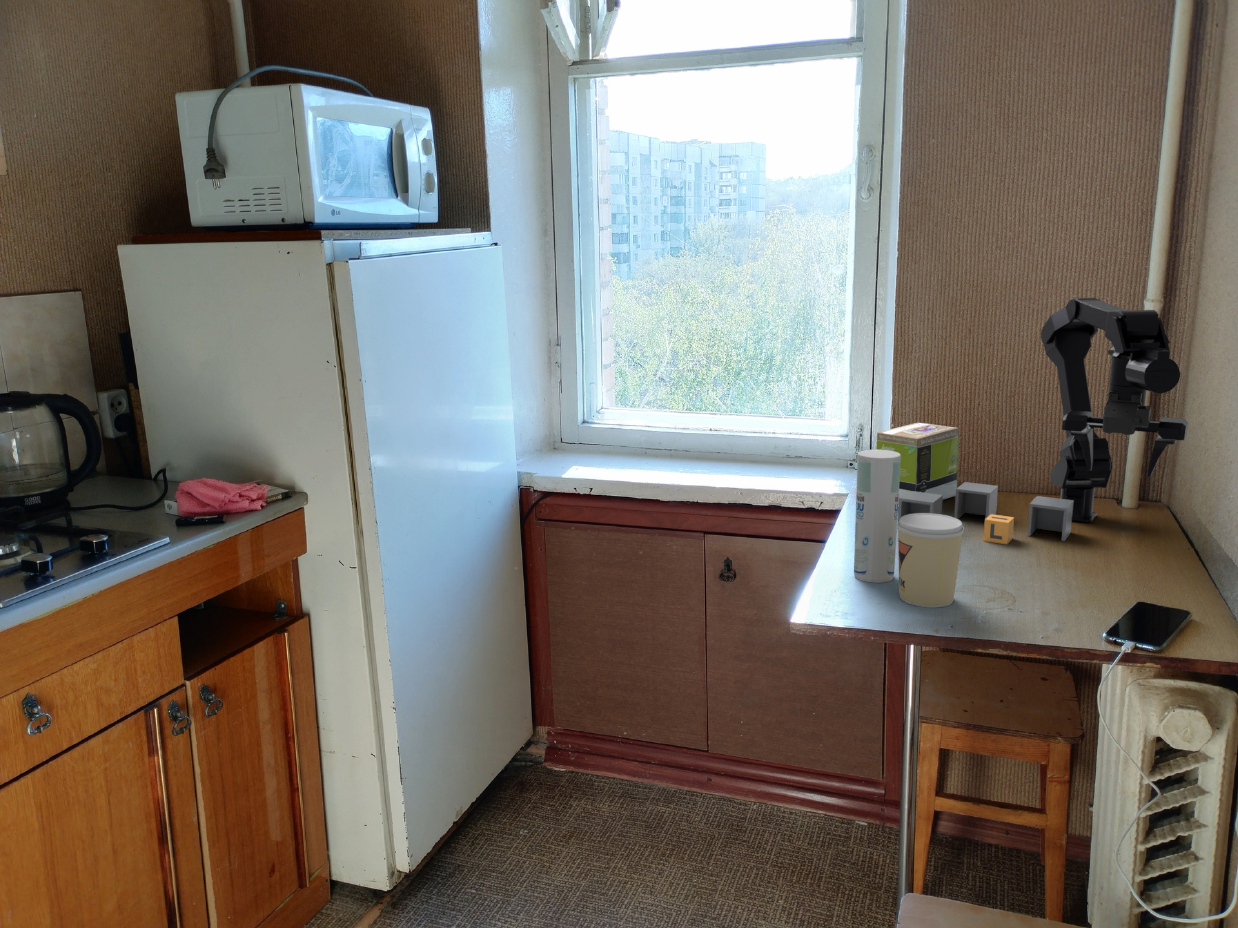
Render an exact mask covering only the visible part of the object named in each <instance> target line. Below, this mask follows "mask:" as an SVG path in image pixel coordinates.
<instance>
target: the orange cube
mask: <svg viewBox="0 0 1238 928" xmlns="http://www.w3.org/2000/svg"><path fill="white" fill-rule="evenodd" d="M985 518H986V517H985ZM985 518H984V525H983V526H984V527H983V539H982V540H983V542H989V543H996V544H1002V545H1008V544H1009V543H1010V542H1011V541H1012V540H1013V536H1014V524H1015V517H1013V516H1006V515H999V514H996V515H993V514H990V515H989V516H988V517H987V518H986V519H985Z"/></svg>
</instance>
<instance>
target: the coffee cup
mask: <svg viewBox="0 0 1238 928" xmlns="http://www.w3.org/2000/svg"><path fill="white" fill-rule="evenodd" d="M897 528H898V529H897V530H898V531H897V532H898V533H897V534H898V535H897V540H898V541H897V542H898V543H897V544H898V545H897V546H898V592H899V598H900V600H902V601H903V602H904V603H907V604H909V605H912V606H915V607H916V606H917V607H920V608H921V607H922V608H943V607H948V606H950V605H951V604H952V603H953V602H954V597H955V591H956V585H957V578H958V571H959V564H960V557H961V549H962V541H963V534H964V532H965V527H964V526H963V523H962V521H961V520H960V519H959V518H958V519H956V518H954V516H953V517H952V516H950V515H947V514H942V515H941V514H932V513H915V514H908V515H905V516H903V517H901V518H900V521H899V522H898V521H897Z"/></svg>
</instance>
